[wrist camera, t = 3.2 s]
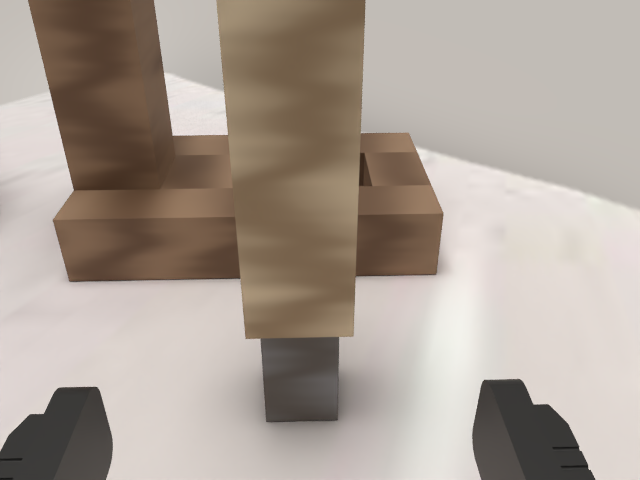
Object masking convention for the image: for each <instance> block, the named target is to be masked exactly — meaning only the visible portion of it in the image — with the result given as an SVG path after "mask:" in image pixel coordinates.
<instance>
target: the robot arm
mask: <svg viewBox="0 0 640 480" xmlns="http://www.w3.org/2000/svg"><path fill="white" fill-rule="evenodd" d="M472 439H473V450H474V456H475V460H476V463H477V467H478V470H479V473H480V477H481V480H595V478H594V476H593V474H592V472H591V470H589V469H588V464H587V462H586V460H585V458H584V455H583V453H582V451H580V450H579V445H578V443H577V441H576V439H575V437H574V435H573V433H572V431H571V429H570V427H569V425H568V423H567V422H566V421H565V420H564V419H563V418H562V417H561V416H560V415H559V414H558V413H557V412H556V411H555V410H554V409H553V408H552V407H551V406H550V405H549V404H542V405H533V403H532V400H531V398H530V396H529V393H528V391H527V389H526V387H525V385H524V383H523V382H522V381H521V380H520V379H505V380H484V381H483V382H482V385H481V390H480V395H479V400H478V405H477V410H476V415H475V420H474V425H473V434H472ZM112 451H113V442H112V435H111V431H110V427H109V423H108V420H107V416H106V412H105V408H104V405H103V401H102V397H101V394H100V391H99V389H98V388H97V387H63V388H58V389H57V390H56V391H55V392H54V394H53V396H52V398H51V400H50V402H49V404H48V406H47V409H46V411H45V413H44V414H30V415H29V416H28V417H27V418H26V419H25V420H24V421H23V422H22V423H21V424H20V425H19V426H18V427H17V428H16V429H15V430H14V431H13V432H12V433H11V434H10V435H9V436H8V438H7V440H6V442H5V444H4V445H3V447H2V449H1V451H0V480H106V478H107V474H108V471H109V468H110V464H111V459H112Z"/></svg>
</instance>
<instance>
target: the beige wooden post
mask: <svg viewBox="0 0 640 480" xmlns="http://www.w3.org/2000/svg"><path fill="white" fill-rule="evenodd" d="M217 13H218V24H219V36H220V47H221V59H222V71H223V82H224V94H225V105H226V117H227V128H228V140H229V151H230V163H231V175H232V186H233V198H234V209H235V221H236V232H237V244H238V255H239V267H240V279H241V290H242V302H243V313H244V325H245V336H246V339H260V338H261V352H262V366H263V380H264V395H265V409H266V422H275V421H316V420H337V414H338V363H339V337H353V333H354V305H355V277H356V249H357V221H358V193H359V165H360V137H361V109H362V82H363V54H364V25H365V0H217Z"/></svg>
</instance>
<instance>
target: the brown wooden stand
mask: <svg viewBox="0 0 640 480" xmlns="http://www.w3.org/2000/svg"><path fill="white" fill-rule="evenodd" d="M28 2H29V6H30V10H31V14H32V19H33V23H34V27H35V31H36V35H37V39H38V43H39V48H40V52H41V56H42V60H43V63H44V68H45V72H46V77H47V81H48V84H49V89H50V93H51V97H52V101H53V106H54V110H55V114H56V118H57V122H58V126H59V130H60V135H61V139H62V143H63V147H64V151H65V155H66V159H67V163H68V168H69V172H70V176H71V180H72V184H73V188H74V191H73V193H72V194H71V195H70V197H69V198H68V200H67V201H66V202H65V204H64V205H63V207H62V208H61V209H60V211H59V212H58V213H57V215H56V216H55V218H54V219H53V222H54V226H55V230H56V233H57V237H58V241H59V244H60V248H61V252H62V256H63V259H64V263H65V267H66V270H67V274H68V278H69V281H101V280H154V279H208V278H240V267H239V255H238V244H237V232H236V221H235V209H234V198H233V186H232V175H231V163H230V151H229V140H228V135H199V136H172V129H171V121H170V114H169V107H168V100H167V92H166V85H165V78H164V71H163V64H162V56H161V49H160V42H159V35H158V27H157V20H156V13H155V7H154V0H28ZM442 222H443V211H442V209H441V207H440V204H439V202H438V200H437V197H436V195H435V193H434V190H433V188H432V186H431V183H430V181H429V179H428V176H427V174H426V172H425V169H424V167H423V165H422V162H421V160H420V158H419V156H418V153H417V151H416V149H415V146H414V144H413V142H412V139H411V137H410V135H409V133H361V137H360V165H359V193H358V221H357V249H356V276H367V275H420V274H436V271H437V263H438V255H439V246H440V238H441V230H442Z"/></svg>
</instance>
